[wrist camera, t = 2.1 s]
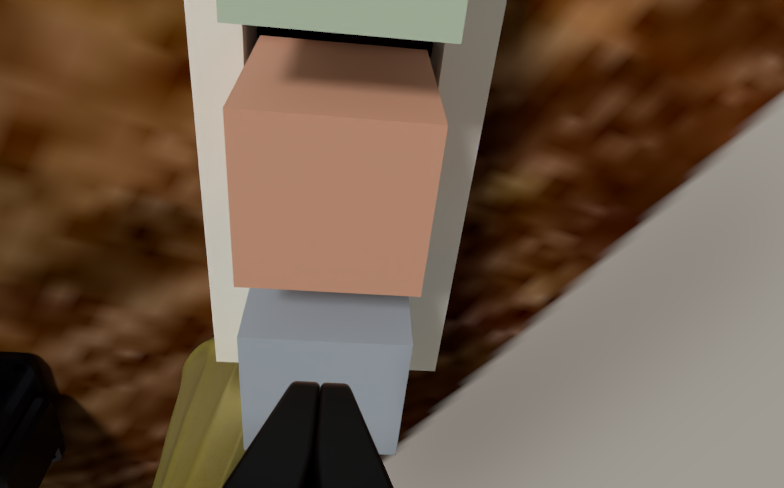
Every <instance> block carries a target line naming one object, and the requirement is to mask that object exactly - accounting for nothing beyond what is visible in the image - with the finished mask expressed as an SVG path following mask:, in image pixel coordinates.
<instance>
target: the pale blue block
mask: <svg viewBox="0 0 784 488" xmlns="http://www.w3.org/2000/svg"><path fill="white" fill-rule="evenodd" d="M237 346H238V363H239V379H240V395H241V411H242V428H243V444H244V450H247V449H248V447H249V445H250V444H251V442H252V441H253V439H254V438H255V436H256V435H257V433H258V432H259V430H260V429H261V427H262V426H263V424H264V423H265V421H266V420H267V418H268V417H269V415H270V414H271V412H272V411H273V409H274V408H275V406H276V405H277V403H278V402H279V400H280V399H281V397H282V396H283V394H284V393H285V391H286V390H287V388H288V387H289V385H290V384H291V383H292V382H294V381H308V382H317V383H318V384H319V385H320V387H321V385H322V384H323V383H326V382H328V383H345V384H348V385H349V387H350V388H351V390H352V392H353V395H354V397H355V399H356V402H357V404H358V406H359V409H360V411H361V413H362V416H363V418H364V420H365V423H366V425H367V427H368V429H369V432H370V434H371V436H372V439H373V441H374V443H375V446H376V448H377V450H378V453H379V454H383V455H396V449H397V443H398V436H399V430H400V424H401V418H402V411H403V405H404V399H405V393H406V386H407V380H408V374H409V368H410V361H411V355H412V349H413V340H412V329H411V318H410V307H409V296H393V295H374V294H355V293H337V292H318V291H300V290H281V289H263V288H249V292H248V296H247V300H246V304H245V308H244V312H243V316H242V320H241V324H240V328H239V331H238V335H237Z"/></svg>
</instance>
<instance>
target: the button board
mask: <svg viewBox="0 0 784 488" xmlns="http://www.w3.org/2000/svg"><path fill="white" fill-rule="evenodd" d="M506 2H507V0H468V5H467V11H466V17H465V24H464V30H463V36H462V43H461V44H453V43H442V42H433V47H432V54H431V65H432V69H433V72H434V76H435V80H436V83H437V87H438V90H439V94H440V98H441V101H442V105H443V108H444V112H445V116H446V119H447V123H448V130H447V136H446V143H445V149H444V155H443V161H442V168H441V174H440V180H439V186H438V193H437V199H436V205H435V211H434V218H433V224H432V230H431V236H430V243H429V249H428V255H427V261H426V268H425V274H424V280H423V286H422V293H421V297H411V296H409V307H410V318H411V329H412V340H413V349H412V355H411V361H410V368H409V370H421V371H435V368H436V363H437V358H438V353H439V348H440V343H441V337H442V332H443V327H444V322H445V317H446V312H447V307H448V301H449V296H450V291H451V286H452V281H453V276H454V270H455V265H456V260H457V255H458V250H459V245H460V239H461V234H462V229H463V224H464V219H465V214H466V209H467V203H468V198H469V193H470V188H471V183H472V178H473V172H474V167H475V162H476V157H477V152H478V147H479V141H480V136H481V131H482V126H483V121H484V116H485V111H486V105H487V100H488V95H489V90H490V85H491V80H492V74H493V69H494V64H495V59H496V54H497V49H498V43H499V38H500V33H501V28H502V23H503V18H504V13H505V7H506ZM184 7H185V18H186V29H187V41H188V52H189V63H190V74H191V85H192V96H193V107H194V118H195V129H196V141H197V152H198V163H199V174H200V185H201V196H202V207H203V218H204V229H205V240H206V252H207V263H208V274H209V285H210V296H211V307H212V318H213V329H214V340H215V352H216V362H237V363H238V346H237V335H238V331H239V328H240V324H241V320H242V316H243V312H244V308H245V304H246V300H247V296H248V292H249V288H244V287H234V282H233V265H232V249H231V233H230V217H229V201H228V184H227V168H226V152H225V136H224V119H223V106H224V104H225V103H226V101H227V99H228V97H229V95H230V93H231V91H232V89H233V87H234V85H235V83H236V81H237V79H238V77H239V75H240V73H241V71H242V70H243V68H244V66H245V64H246V62H247V60H248V58H249V56H250V54H251V52H252V50H253V48H254V46H255V44H256V42H257V26H252V25H241V24H230V23H218V22H217V6H216V0H184Z"/></svg>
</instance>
